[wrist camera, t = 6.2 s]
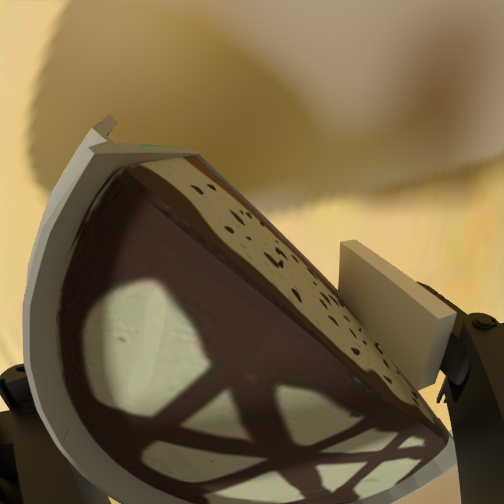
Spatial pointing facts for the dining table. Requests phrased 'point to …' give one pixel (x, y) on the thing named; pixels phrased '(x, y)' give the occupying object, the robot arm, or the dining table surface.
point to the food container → (206, 347)
